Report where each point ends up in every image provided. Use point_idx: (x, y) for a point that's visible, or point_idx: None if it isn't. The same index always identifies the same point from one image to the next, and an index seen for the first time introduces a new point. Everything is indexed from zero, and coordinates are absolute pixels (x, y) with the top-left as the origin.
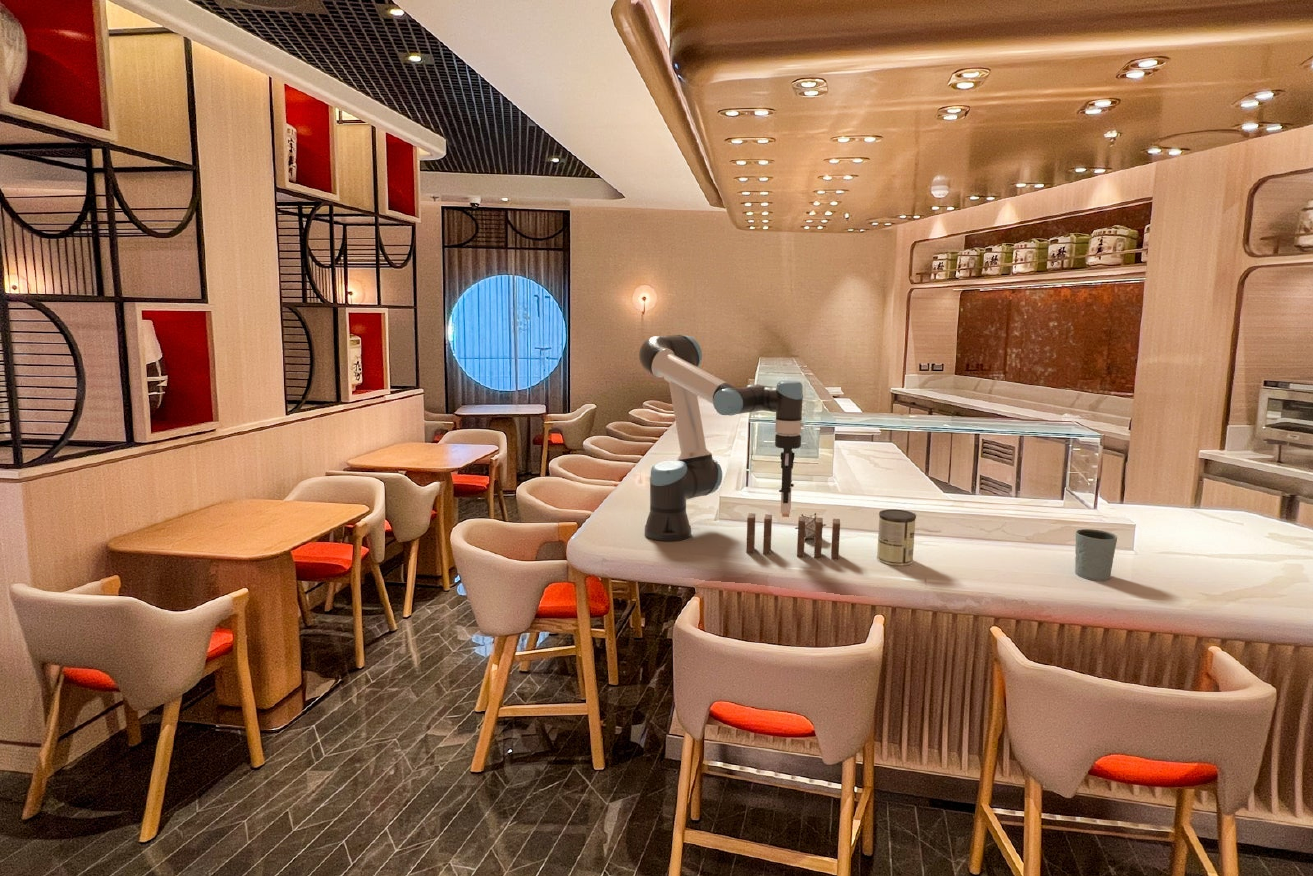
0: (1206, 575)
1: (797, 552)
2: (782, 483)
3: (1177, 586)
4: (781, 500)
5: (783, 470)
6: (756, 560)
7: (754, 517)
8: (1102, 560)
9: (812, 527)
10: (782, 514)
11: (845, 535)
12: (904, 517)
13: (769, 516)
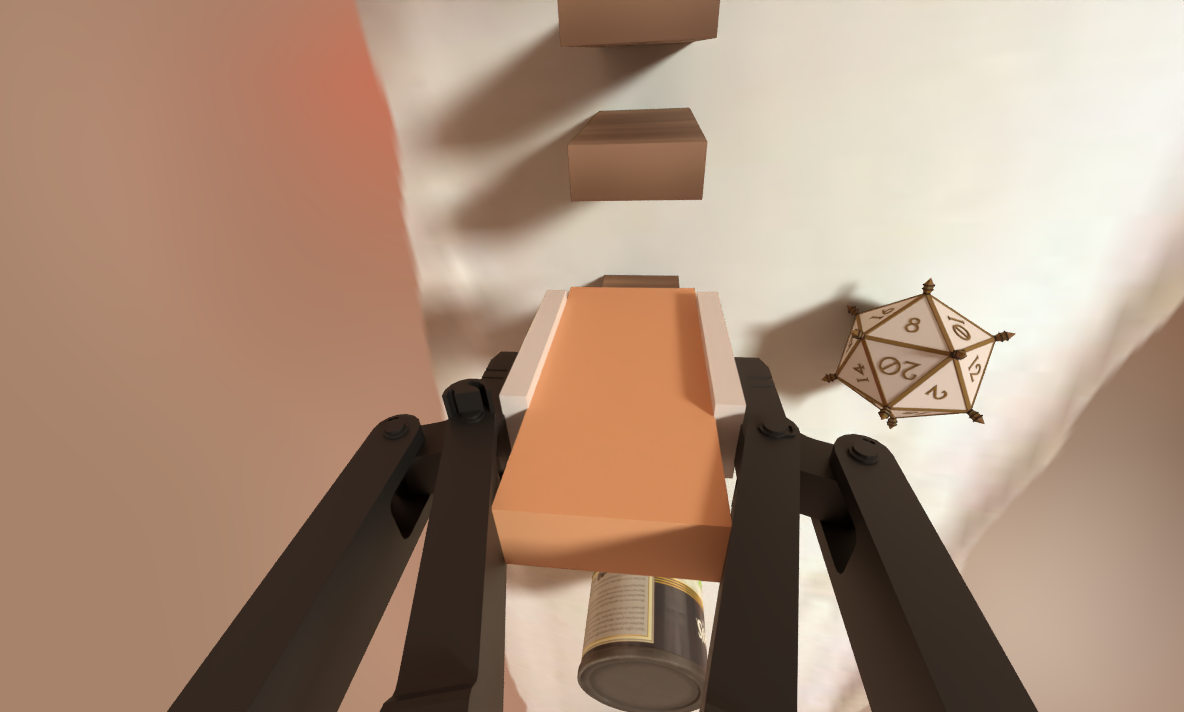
0: None
1: (602, 284)
2: (334, 494)
3: None
4: (524, 347)
5: (198, 699)
6: (491, 85)
7: (607, 43)
8: None
9: (855, 372)
10: (567, 297)
11: (921, 448)
12: (606, 691)
13: (643, 183)
